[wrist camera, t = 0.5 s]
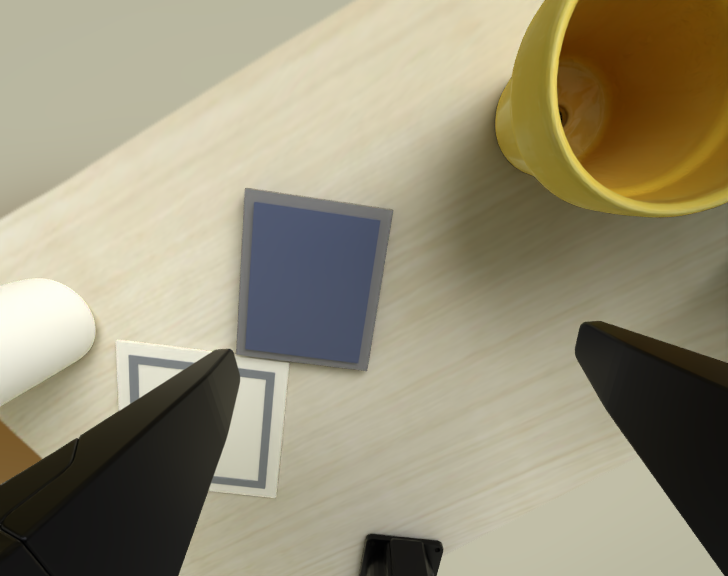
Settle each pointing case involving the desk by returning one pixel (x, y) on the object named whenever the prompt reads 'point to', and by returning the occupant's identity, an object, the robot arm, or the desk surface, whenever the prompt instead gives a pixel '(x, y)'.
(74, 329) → the beverage can
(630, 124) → the plant pot
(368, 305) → the ink pad
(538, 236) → the desk surface
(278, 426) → the print card
